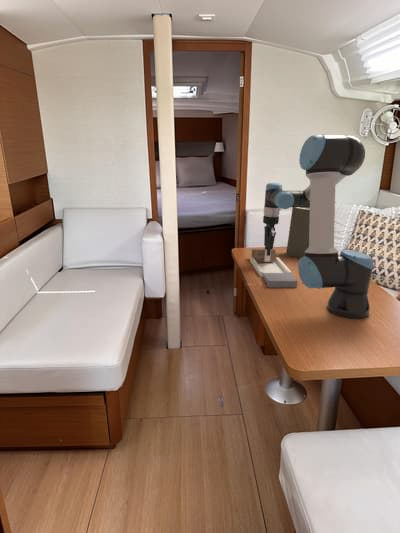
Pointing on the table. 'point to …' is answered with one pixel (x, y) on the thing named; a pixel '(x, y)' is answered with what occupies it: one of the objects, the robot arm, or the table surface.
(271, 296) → the table surface
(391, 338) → the table surface
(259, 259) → the block
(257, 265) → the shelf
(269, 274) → the plinth
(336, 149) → the robot arm
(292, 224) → the book
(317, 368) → the table surface
